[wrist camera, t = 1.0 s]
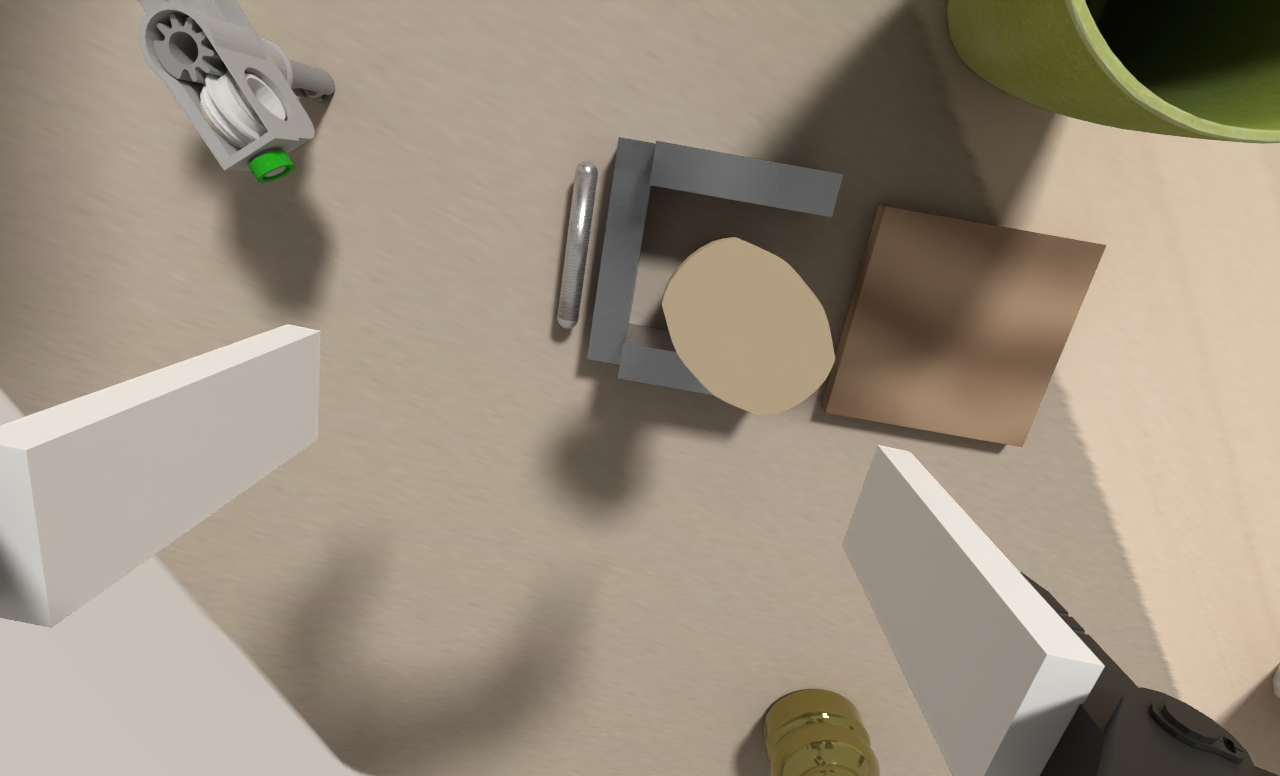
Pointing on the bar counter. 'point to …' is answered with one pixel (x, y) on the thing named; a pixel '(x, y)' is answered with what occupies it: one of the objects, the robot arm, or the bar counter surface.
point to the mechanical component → (232, 82)
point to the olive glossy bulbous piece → (817, 737)
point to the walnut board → (957, 325)
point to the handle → (748, 327)
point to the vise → (635, 172)
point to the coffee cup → (1276, 682)
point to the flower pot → (1133, 61)
